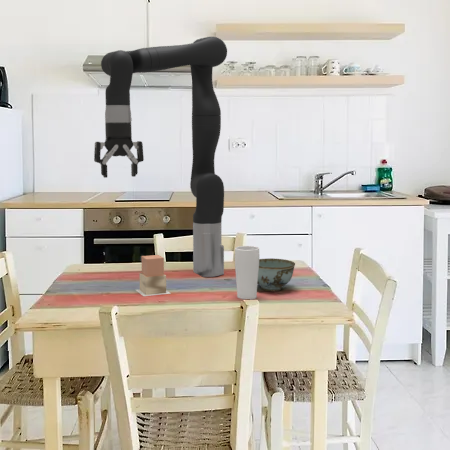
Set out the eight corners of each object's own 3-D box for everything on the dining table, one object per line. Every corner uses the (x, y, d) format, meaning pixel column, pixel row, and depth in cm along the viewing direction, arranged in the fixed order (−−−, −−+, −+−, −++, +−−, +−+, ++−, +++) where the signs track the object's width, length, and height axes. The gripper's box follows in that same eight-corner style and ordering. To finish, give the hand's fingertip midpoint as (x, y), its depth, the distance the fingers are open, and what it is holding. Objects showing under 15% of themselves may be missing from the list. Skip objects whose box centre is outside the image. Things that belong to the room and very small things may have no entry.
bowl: (242, 292, 195) (242, 265, 194) (256, 282, 208) (256, 256, 207) (288, 296, 191) (288, 268, 190) (299, 285, 203) (299, 259, 202)
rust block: (158, 271, 193) (158, 254, 192) (163, 275, 189) (163, 257, 188) (141, 273, 191) (141, 256, 190) (146, 276, 187) (146, 259, 186)
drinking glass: (230, 299, 187) (230, 246, 185) (252, 297, 190) (252, 245, 187) (240, 305, 181) (241, 250, 179) (263, 302, 183) (263, 249, 181)
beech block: (159, 288, 195) (159, 271, 194) (166, 292, 189) (166, 275, 188) (139, 290, 192) (139, 273, 191) (145, 295, 187) (145, 277, 186)
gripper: (138, 121, 202) (139, 175, 204) (91, 121, 196) (92, 176, 198) (145, 121, 195) (146, 177, 197) (97, 121, 189) (98, 178, 191)
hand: (119, 176), depth 198 cm, fingers open, 8 cm apart
